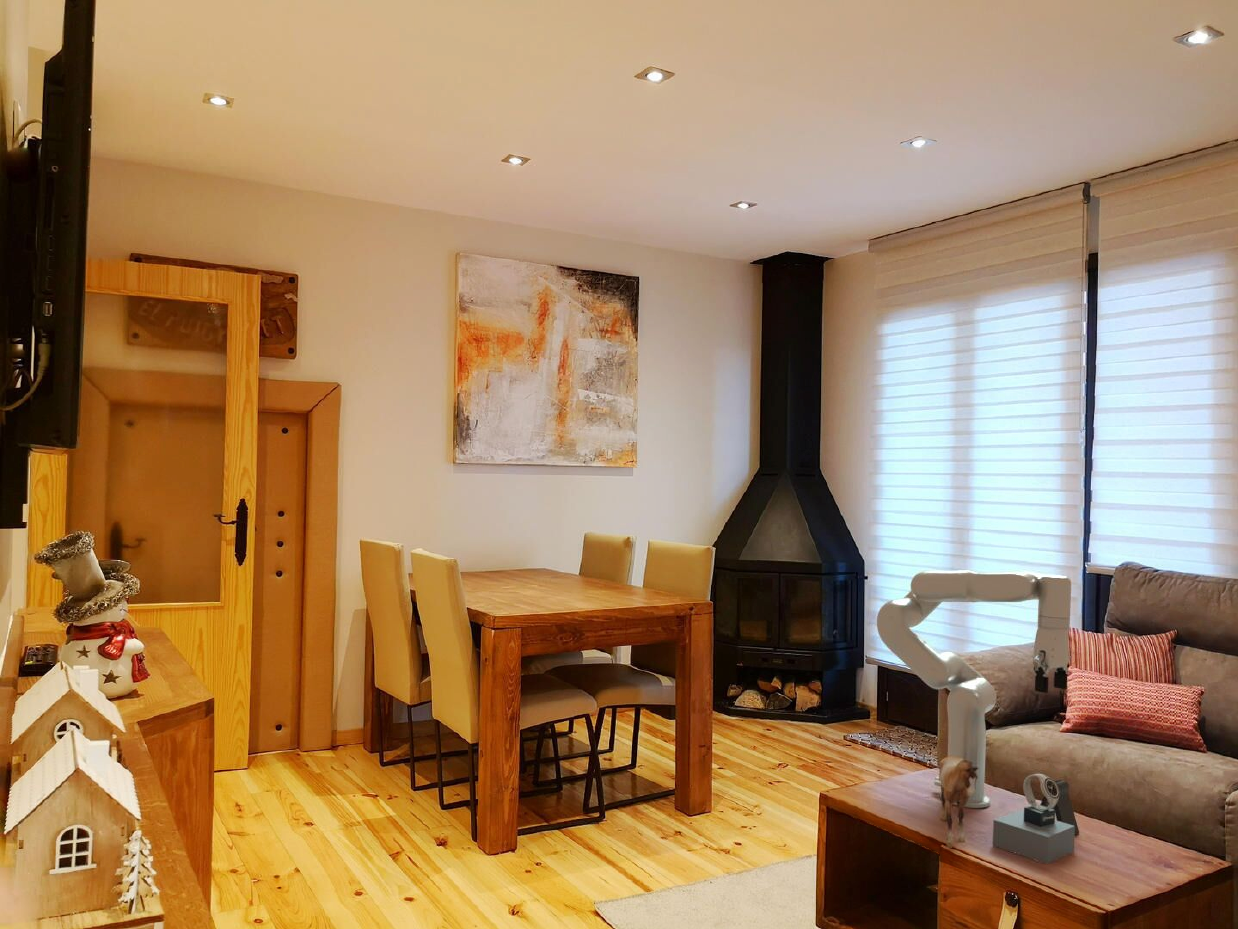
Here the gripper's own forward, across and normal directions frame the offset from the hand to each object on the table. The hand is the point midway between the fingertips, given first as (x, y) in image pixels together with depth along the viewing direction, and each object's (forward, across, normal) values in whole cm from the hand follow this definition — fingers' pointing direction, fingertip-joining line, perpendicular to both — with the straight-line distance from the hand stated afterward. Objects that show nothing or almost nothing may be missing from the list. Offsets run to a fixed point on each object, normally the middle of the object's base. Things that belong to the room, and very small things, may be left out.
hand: (1050, 690), depth 242 cm
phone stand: (+33, +5, +5) cm, 34 cm away
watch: (+27, +21, +9) cm, 36 cm away
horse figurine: (+33, +28, -5) cm, 44 cm away
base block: (+33, +23, +9) cm, 41 cm away
